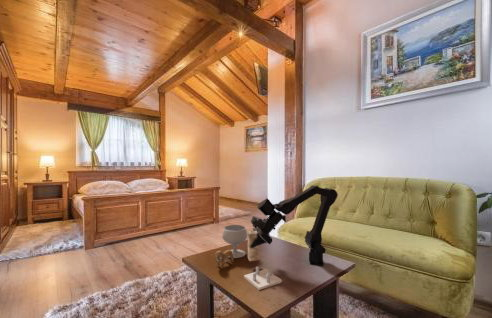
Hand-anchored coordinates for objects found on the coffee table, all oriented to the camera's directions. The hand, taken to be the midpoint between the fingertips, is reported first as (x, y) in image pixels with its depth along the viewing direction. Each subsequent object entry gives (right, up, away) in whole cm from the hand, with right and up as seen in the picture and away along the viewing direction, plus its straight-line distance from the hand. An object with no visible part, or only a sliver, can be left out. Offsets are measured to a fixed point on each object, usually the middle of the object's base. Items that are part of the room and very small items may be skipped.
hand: (250, 245), depth 115 cm
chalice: (-8, -11, +17) cm, 22 cm away
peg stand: (+5, -11, -11) cm, 17 cm away
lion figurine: (-13, -11, +3) cm, 17 cm away
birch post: (+1, -7, 0) cm, 7 cm away
